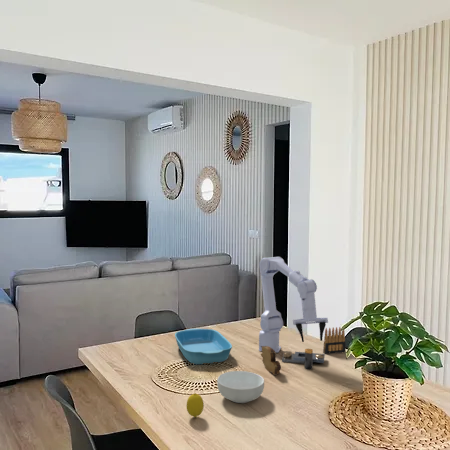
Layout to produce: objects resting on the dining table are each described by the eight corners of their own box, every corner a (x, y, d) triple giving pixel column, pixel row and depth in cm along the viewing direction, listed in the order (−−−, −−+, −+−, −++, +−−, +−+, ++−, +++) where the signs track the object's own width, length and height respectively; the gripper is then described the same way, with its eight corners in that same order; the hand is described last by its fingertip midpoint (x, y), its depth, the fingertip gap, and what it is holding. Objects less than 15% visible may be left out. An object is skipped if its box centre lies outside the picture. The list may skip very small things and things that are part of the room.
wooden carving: (285, 377, 180) (285, 352, 179) (274, 378, 178) (275, 354, 178) (266, 363, 195) (266, 340, 195) (257, 364, 194) (257, 342, 193)
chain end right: (293, 362, 196) (293, 356, 196) (295, 356, 204) (295, 350, 204) (323, 365, 193) (323, 358, 193) (324, 359, 201) (324, 352, 200)
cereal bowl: (249, 413, 149) (249, 392, 148) (208, 401, 158) (208, 381, 157) (272, 395, 163) (272, 376, 163) (232, 385, 172) (233, 367, 172)
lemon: (186, 413, 148) (186, 390, 148) (203, 413, 149) (203, 389, 148) (186, 421, 143) (186, 397, 142) (203, 421, 143) (203, 396, 143)
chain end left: (281, 361, 198) (281, 354, 197) (284, 355, 205) (284, 349, 205) (311, 364, 194) (311, 357, 194) (313, 358, 202) (313, 351, 202)
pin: (304, 369, 189) (304, 350, 188) (305, 366, 192) (305, 348, 191) (312, 370, 188) (312, 351, 187) (312, 367, 191) (313, 348, 190)
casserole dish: (238, 364, 194) (238, 348, 194) (187, 370, 187) (187, 353, 187) (213, 340, 229) (213, 326, 229) (170, 344, 222) (170, 330, 222)
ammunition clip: (343, 350, 212) (344, 325, 212) (345, 352, 211) (346, 326, 210) (323, 352, 210) (323, 327, 209) (325, 354, 208) (325, 328, 207)
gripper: (292, 310, 189) (295, 343, 187) (327, 308, 187) (330, 341, 186) (291, 308, 196) (294, 340, 194) (325, 306, 194) (328, 338, 193)
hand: (312, 340), depth 191 cm, fingers open, 7 cm apart
